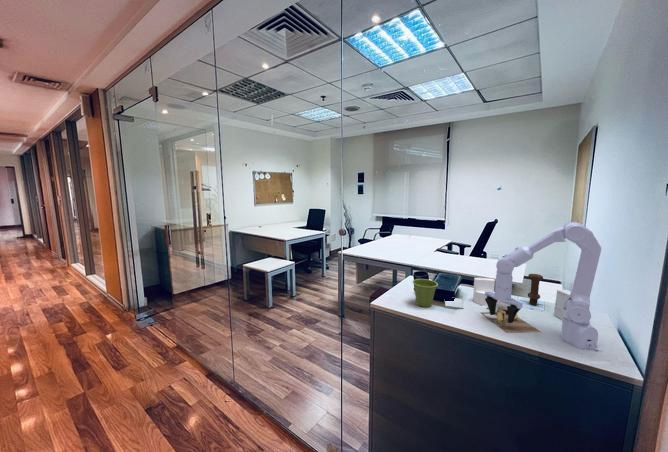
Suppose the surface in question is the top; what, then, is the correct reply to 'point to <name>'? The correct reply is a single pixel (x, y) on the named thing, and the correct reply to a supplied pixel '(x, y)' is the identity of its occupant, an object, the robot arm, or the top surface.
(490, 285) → the base with upright slab
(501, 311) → the pin
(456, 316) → the top surface
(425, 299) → the plant pot
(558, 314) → the skincare box
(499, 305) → the housing
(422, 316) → the top surface
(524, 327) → the board
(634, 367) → the top surface
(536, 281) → the bolt
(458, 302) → the hard drive
